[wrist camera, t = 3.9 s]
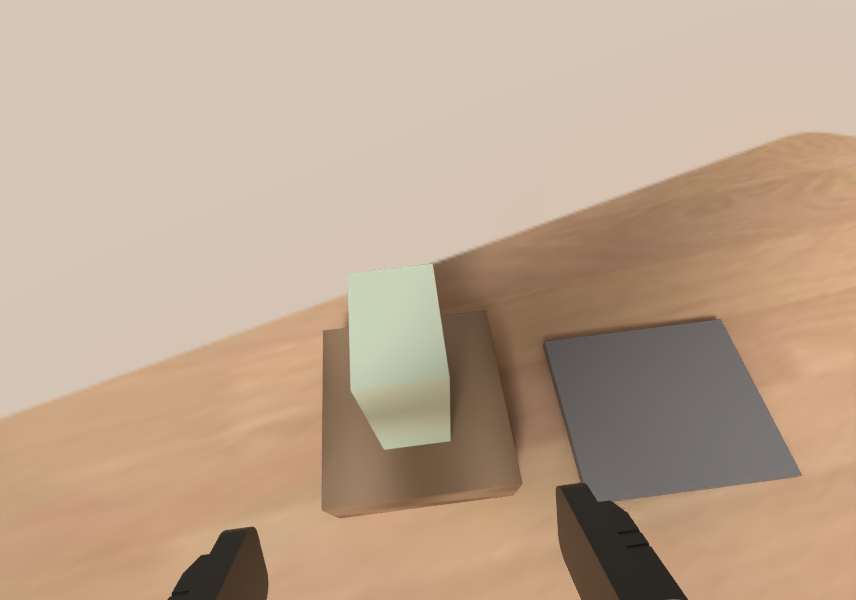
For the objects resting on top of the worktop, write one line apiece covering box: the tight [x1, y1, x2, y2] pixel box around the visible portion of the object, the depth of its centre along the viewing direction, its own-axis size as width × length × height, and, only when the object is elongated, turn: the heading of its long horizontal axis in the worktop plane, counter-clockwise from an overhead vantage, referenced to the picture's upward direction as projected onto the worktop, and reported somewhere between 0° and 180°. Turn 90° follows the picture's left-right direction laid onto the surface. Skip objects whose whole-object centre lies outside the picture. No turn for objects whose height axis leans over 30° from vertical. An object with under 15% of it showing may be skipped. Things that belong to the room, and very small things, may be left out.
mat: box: [543, 319, 802, 502], centre depth 28 cm, size 12×10×1 cm
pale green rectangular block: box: [348, 264, 451, 450], centre depth 21 cm, size 4×5×9 cm
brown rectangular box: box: [322, 311, 523, 518], centre depth 26 cm, size 10×10×4 cm
